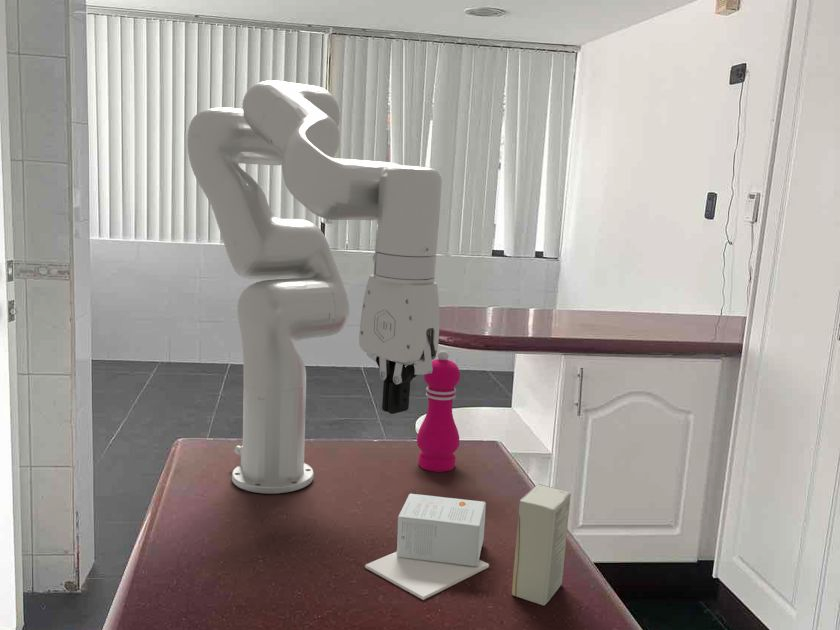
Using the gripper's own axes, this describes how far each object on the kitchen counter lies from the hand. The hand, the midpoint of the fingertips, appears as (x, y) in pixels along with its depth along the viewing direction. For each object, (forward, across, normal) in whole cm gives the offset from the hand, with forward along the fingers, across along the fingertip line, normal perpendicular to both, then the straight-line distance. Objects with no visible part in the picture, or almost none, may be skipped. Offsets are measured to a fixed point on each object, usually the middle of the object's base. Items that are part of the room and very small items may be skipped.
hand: (395, 410), depth 101 cm
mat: (+18, +8, 0) cm, 20 cm away
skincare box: (+18, +20, +6) cm, 28 cm away
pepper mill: (+19, -16, +27) cm, 37 cm away
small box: (+15, +1, +1) cm, 16 cm away
